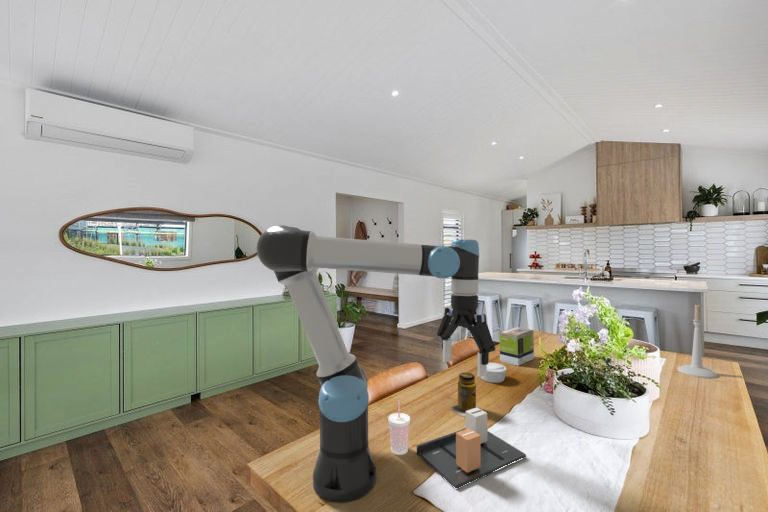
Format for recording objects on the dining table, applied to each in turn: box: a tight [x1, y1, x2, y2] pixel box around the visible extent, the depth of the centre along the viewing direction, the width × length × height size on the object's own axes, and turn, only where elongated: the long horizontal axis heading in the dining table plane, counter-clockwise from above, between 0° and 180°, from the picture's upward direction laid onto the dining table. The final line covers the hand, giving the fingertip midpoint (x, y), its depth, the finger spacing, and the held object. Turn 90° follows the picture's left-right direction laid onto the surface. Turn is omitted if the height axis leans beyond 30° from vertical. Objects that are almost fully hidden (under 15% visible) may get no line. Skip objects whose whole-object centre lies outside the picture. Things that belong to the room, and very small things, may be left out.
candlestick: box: [677, 304, 718, 379], centre depth 152 cm, size 13×13×30 cm
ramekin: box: [480, 362, 507, 384], centre depth 148 cm, size 11×11×5 cm
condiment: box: [448, 372, 477, 418], centre depth 121 cm, size 7×8×12 cm
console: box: [416, 427, 527, 489], centre depth 94 cm, size 24×16×2 cm, turn 119°
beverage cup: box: [387, 399, 411, 456], centre depth 97 cm, size 6×6×14 cm
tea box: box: [499, 326, 535, 367], centre depth 171 cm, size 15×10×15 cm
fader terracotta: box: [456, 428, 481, 473], centre depth 88 cm, size 4×4×8 cm
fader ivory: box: [465, 407, 488, 443], centre depth 99 cm, size 4×4×8 cm
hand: (463, 368), depth 100 cm, fingers open, 13 cm apart
